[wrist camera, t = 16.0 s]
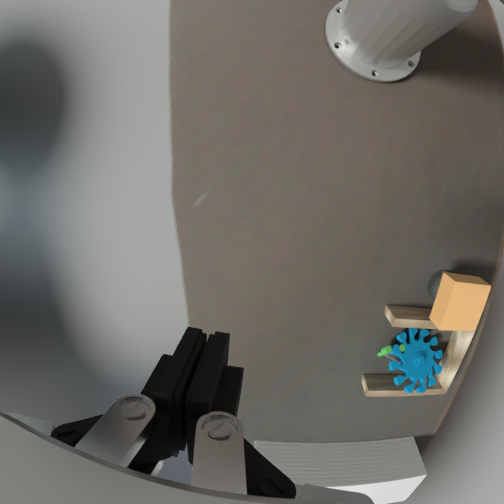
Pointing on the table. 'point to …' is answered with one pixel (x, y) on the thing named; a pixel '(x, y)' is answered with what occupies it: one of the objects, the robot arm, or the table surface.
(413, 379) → the gear
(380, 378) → the chassis bay
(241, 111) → the table surface
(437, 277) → the silver metal rounded piece
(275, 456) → the stack of papers
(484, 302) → the block
